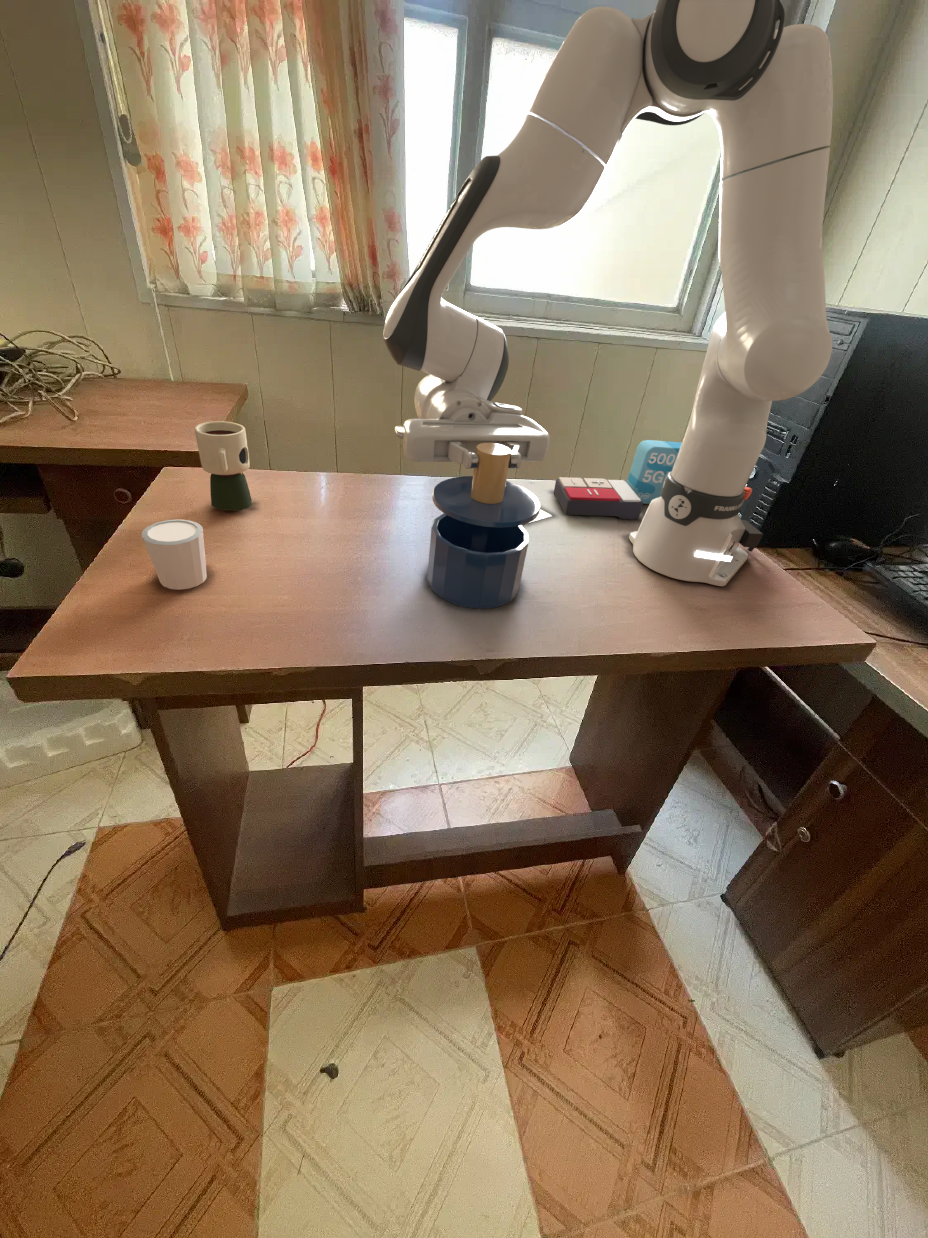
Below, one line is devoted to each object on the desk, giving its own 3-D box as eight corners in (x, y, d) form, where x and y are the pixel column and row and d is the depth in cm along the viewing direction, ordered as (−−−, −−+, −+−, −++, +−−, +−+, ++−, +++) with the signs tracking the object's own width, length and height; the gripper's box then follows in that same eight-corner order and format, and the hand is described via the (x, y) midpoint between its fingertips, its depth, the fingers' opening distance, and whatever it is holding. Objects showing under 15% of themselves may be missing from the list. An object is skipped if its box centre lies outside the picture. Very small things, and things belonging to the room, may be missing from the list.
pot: (477, 551, 85) (485, 503, 80) (536, 591, 77) (548, 540, 72) (409, 572, 77) (413, 520, 72) (467, 619, 69) (475, 564, 64)
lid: (489, 478, 78) (497, 425, 73) (560, 517, 70) (574, 460, 65) (410, 495, 70) (413, 436, 65) (479, 542, 62) (489, 478, 57)
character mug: (256, 520, 84) (245, 440, 77) (207, 522, 82) (191, 439, 74) (254, 492, 92) (245, 417, 85) (210, 493, 90) (196, 416, 82)
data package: (630, 503, 109) (648, 446, 102) (622, 494, 113) (639, 438, 106) (682, 506, 111) (703, 450, 104) (672, 497, 115) (693, 442, 108)
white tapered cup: (159, 597, 66) (145, 548, 61) (150, 570, 70) (137, 523, 66) (217, 585, 69) (208, 538, 65) (205, 560, 73) (196, 515, 69)
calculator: (556, 474, 107) (626, 477, 109) (552, 494, 110) (621, 496, 111) (569, 497, 98) (645, 499, 100) (564, 517, 101) (639, 519, 102)
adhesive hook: (506, 512, 98) (509, 496, 96) (516, 509, 100) (519, 494, 98) (517, 518, 97) (520, 503, 95) (527, 516, 98) (530, 500, 96)
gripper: (392, 402, 71) (415, 436, 60) (529, 406, 77) (571, 438, 67) (391, 448, 75) (412, 487, 64) (521, 449, 81) (560, 485, 70)
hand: (494, 462), depth 65 cm, fingers closed on lid, 4 cm apart
